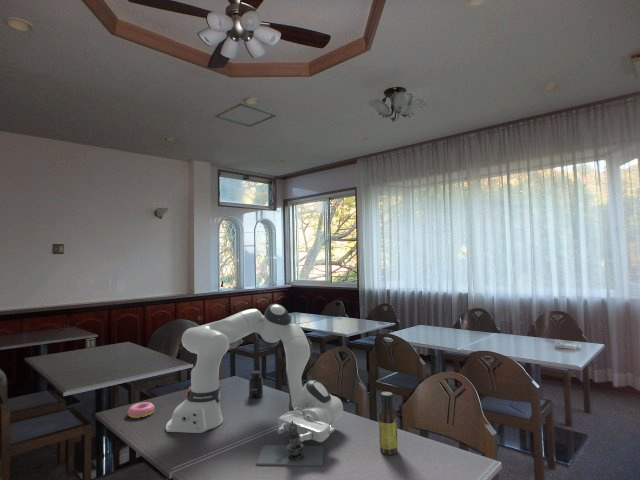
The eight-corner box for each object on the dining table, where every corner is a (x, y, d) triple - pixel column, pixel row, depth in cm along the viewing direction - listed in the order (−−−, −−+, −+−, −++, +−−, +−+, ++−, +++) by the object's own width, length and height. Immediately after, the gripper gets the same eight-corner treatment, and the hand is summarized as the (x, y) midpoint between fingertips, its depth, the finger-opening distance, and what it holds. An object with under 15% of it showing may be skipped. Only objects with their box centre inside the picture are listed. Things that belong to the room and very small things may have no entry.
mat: (255, 465, 129) (255, 463, 129) (263, 447, 141) (263, 445, 141) (322, 466, 128) (322, 464, 128) (324, 447, 140) (324, 446, 140)
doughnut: (137, 421, 165) (137, 411, 166) (122, 416, 171) (122, 406, 171) (159, 412, 175) (159, 403, 175) (144, 407, 181) (144, 398, 181)
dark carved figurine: (291, 452, 136) (287, 417, 137) (307, 452, 134) (303, 417, 135) (284, 461, 131) (280, 424, 131) (301, 461, 129) (297, 424, 129)
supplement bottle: (251, 400, 187) (251, 374, 187) (247, 395, 193) (246, 371, 193) (265, 397, 190) (264, 372, 190) (260, 393, 196) (260, 368, 196)
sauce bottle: (400, 454, 134) (399, 396, 135) (383, 457, 133) (382, 397, 134) (393, 445, 141) (391, 389, 141) (376, 447, 139) (375, 391, 140)
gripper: (337, 437, 139) (313, 453, 128) (293, 422, 151) (268, 436, 140) (336, 419, 139) (313, 434, 128) (292, 405, 151) (268, 418, 140)
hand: (289, 435), depth 134 cm, fingers open, 8 cm apart
